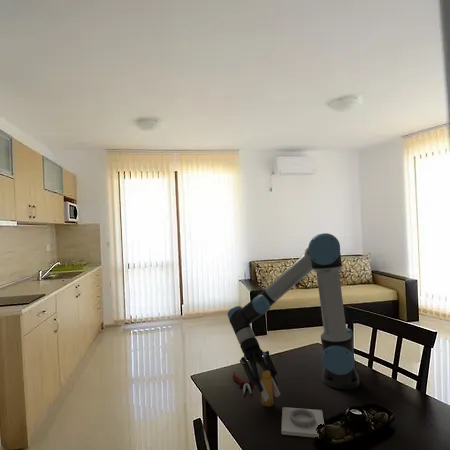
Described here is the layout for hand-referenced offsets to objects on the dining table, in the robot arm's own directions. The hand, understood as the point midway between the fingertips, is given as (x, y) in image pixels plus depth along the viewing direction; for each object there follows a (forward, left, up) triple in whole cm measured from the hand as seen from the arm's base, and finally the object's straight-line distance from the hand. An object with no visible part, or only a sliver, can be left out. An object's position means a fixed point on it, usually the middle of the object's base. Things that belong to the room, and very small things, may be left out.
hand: (272, 397), depth 119 cm
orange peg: (+2, -3, -4) cm, 5 cm away
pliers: (+14, -18, -5) cm, 23 cm away
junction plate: (-11, +8, -4) cm, 14 cm away
